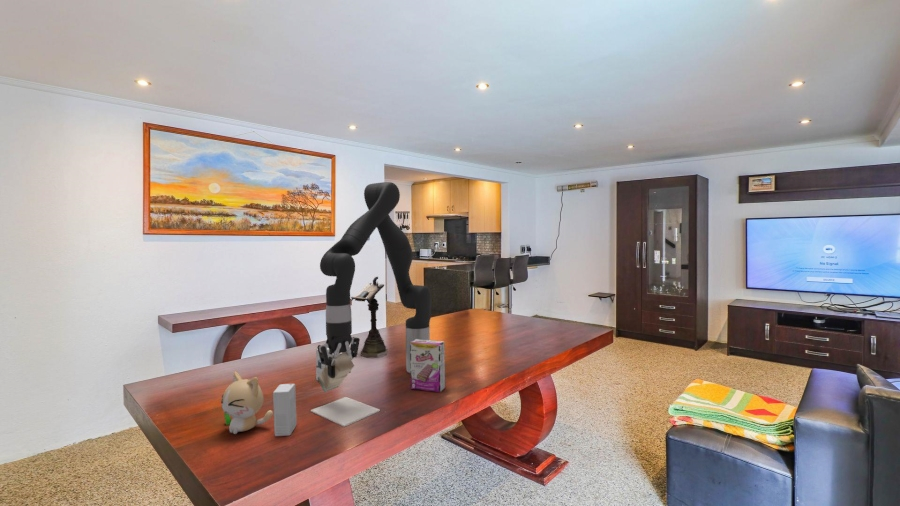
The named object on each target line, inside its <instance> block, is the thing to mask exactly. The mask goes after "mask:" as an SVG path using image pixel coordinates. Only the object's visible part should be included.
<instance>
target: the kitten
mask: <svg viewBox="0 0 900 506" xmlns="http://www.w3.org/2000/svg"><path fill="white" fill-rule="evenodd" d="M232 377H233V379H232V383H230V384H229V386H227V387H226V389H225V391H224V392H223V394H222V395H221V400H220V403H221V407H222V411H223V412H224V420H225V425H226V426H228V429H229V433H231V434H234V435H237V434H238V433H240V432H246V431H249V430H252V429H253V428H254V427H255V426H256V425H257V426H258V425H263V424H264V423H266V422H268V421H269V420H270V419H272V418H273V417H274V410H271V409H270V410H268V411H267V410H266V411H267V412H266V413H265V415H264V417H261V418H259V419H257V417H256V414H257V413H258V412H259V410H260V409H261V408H262V406H263V403H264V393H263V390H262V388H261V386H260V385H259V379H258V377H257V376H255V377H252V378H251V379H247V378H245V379H243V377H242V376H241V374H239V373H238V372H237V371H234V372H233V375H232ZM231 417H232V419H231Z"/></svg>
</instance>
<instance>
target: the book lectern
mask: <svg viewBox="0 0 900 506" xmlns="http://www.w3.org/2000/svg"><path fill="white" fill-rule="evenodd" d="M378 279H379V276H374V277H373V279H372V282H368V283H367V284H366V285H365V286H364V288H363V289H362V290H361V291H359V293H357V295H355V296H350V302H353V300H354V301H357V302H365V301H367V303H368V304H367V306H368V307H367V308H368V311H370V320H369V321H370V330H369V331H368V335H367V337H366V339H365V341H363V346H362V349H361V350H360V356H361V357H364V358H373V359H374V358H380V357H384V356H387V354H388V348H387V346H386V344H385V340H384V339H383V337H382V336H381V334H380V330H379V329H378V328H377V320H378V319H377V311H378V310H379V305H380V304H379V301H378V300H377V298H375V297H376V295H377V294H378V293H379V292H380V291H381V290H382V289H383V288H384V286H385V283H384V284H383V283H379V281H377V280H378Z"/></svg>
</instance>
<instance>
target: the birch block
mask: <svg viewBox="0 0 900 506" xmlns="http://www.w3.org/2000/svg"><path fill="white" fill-rule="evenodd" d="M331 359H332V358H331ZM334 366H335V378H330V377H329V376H328V368H327V365H326V367H325V368H324V370H323V371H322V372H321V374H320V375H319V377H318V380H319V381H318V380H317V381H318V382H319V384H320V386H321V388H322V391H323V392H324V393H326V392H329V391H331V390H334V389H336V388H339V387H340V385H342V383H343V381H344V380H345V379H346V378H347V376H348V375H349V374H350V373H351V372H350V371H352V369H353V368H354V367H355V364H354V362H353V360H352V361H351V359H350V357H349V356H348V355H347V354H346V353H342V352H341V353H340V354H338V357H337V358H336V359H335V364H334ZM349 372H350V373H349Z"/></svg>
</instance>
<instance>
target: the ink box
mask: <svg viewBox="0 0 900 506" xmlns="http://www.w3.org/2000/svg"><path fill="white" fill-rule="evenodd" d="M327 350H328V351H329V348H327ZM328 351H327V355H328ZM332 354H333V355H334V353H332ZM315 365H316V366H315V367H316V368H315V371H316V372H315V380H316V381H318V382H319V380H318V377H319V375H320V374H321V372H322V371H323V370H324V368H325V367H326V365H324V364H322V363H321V360H320V356H319V352H318V348H316V349H315Z"/></svg>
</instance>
